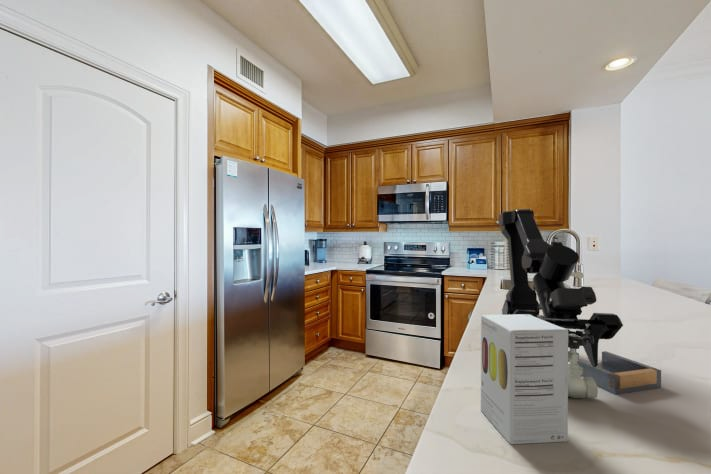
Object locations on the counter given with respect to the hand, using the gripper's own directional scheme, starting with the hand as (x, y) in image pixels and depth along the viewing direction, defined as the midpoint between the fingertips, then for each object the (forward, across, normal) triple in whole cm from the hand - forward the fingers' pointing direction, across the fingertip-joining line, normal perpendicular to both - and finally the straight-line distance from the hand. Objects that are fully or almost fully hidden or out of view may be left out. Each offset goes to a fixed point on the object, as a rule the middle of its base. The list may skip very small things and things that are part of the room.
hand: (576, 364), depth 58 cm
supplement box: (+12, -13, -3) cm, 18 cm away
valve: (+4, 0, +6) cm, 7 cm away
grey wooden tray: (-4, +11, +13) cm, 18 cm away
